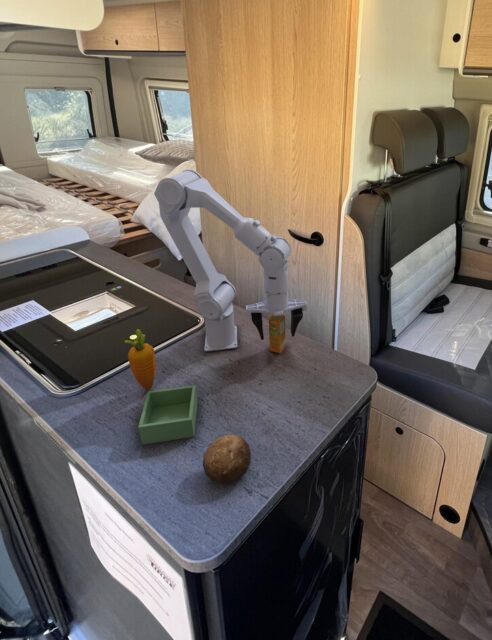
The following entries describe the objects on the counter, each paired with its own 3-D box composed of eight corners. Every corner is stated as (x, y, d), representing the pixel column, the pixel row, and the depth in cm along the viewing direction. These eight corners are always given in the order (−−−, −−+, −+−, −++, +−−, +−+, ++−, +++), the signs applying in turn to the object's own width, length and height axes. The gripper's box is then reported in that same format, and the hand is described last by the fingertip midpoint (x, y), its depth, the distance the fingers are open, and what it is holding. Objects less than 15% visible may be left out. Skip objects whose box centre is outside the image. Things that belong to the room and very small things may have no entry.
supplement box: (268, 351, 98) (267, 318, 94) (275, 343, 101) (274, 311, 97) (280, 354, 97) (279, 321, 93) (286, 346, 100) (286, 314, 96)
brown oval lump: (226, 425, 73) (223, 422, 67) (261, 451, 72) (259, 450, 66) (197, 466, 69) (190, 466, 64) (232, 494, 68) (229, 496, 62)
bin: (150, 407, 80) (147, 391, 78) (197, 401, 82) (195, 384, 80) (142, 445, 72) (137, 427, 70) (194, 436, 74) (191, 419, 72)
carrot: (151, 400, 82) (140, 342, 76) (130, 396, 83) (117, 338, 76) (165, 384, 86) (155, 328, 80) (145, 380, 87) (134, 324, 81)
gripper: (245, 300, 87) (248, 349, 92) (309, 294, 90) (308, 342, 96) (244, 285, 93) (247, 331, 99) (304, 280, 96) (303, 325, 102)
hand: (277, 335), depth 98 cm, fingers open, 7 cm apart
